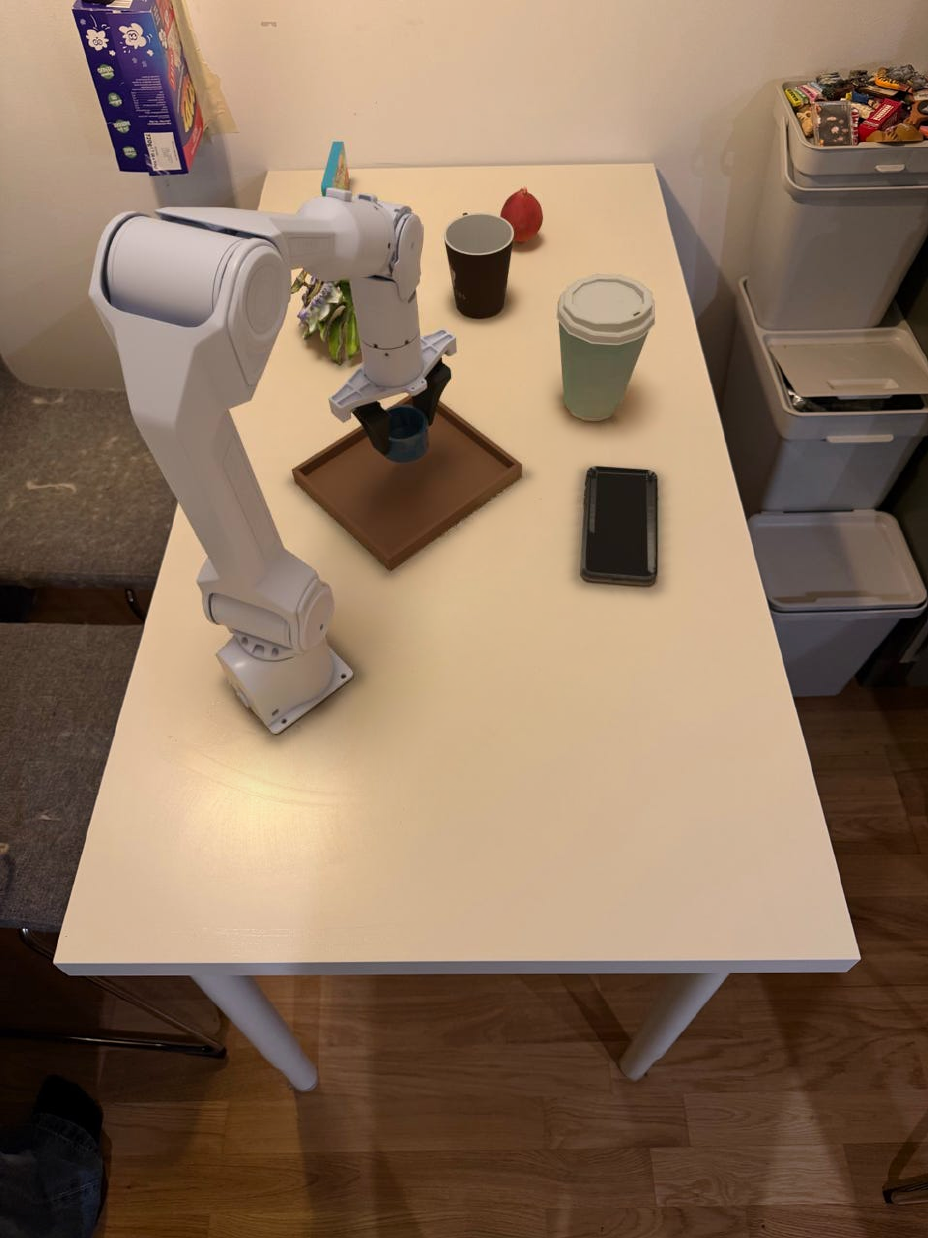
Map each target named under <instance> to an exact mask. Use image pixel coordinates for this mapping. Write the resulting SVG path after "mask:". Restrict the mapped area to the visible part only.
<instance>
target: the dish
mask: <svg viewBox="0 0 928 1238" xmlns="http://www.w3.org/2000/svg"><path fill="white" fill-rule="evenodd" d="M391 406H392V407H391ZM391 406H389V407H387V408H386V409H385V410H386V411H387V412H388V413H389V414H391V415H392V416H391V419H390V422H389V428H388V436H389V443H390V452H389V453H388V454H387V455H385V456H384V457H385V458H387V459H388V460H390V461H393V462H397V463H409V462H413V461H416V460H418V459H420V458H421V457H422V456H424V455H425V453H426V452H427V450H428V448H429V427H428V419H427V417H426V415H425V413H424V412H423V411H422V410H420V409H419V408H418V407H415V406H411V405H396V406H393V405H391Z"/></svg>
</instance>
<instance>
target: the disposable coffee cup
mask: <svg viewBox="0 0 928 1238" xmlns="http://www.w3.org/2000/svg"><path fill="white" fill-rule="evenodd" d="M555 319H556V320H557V321H558V333H559V334H558V335H559V336H558V337H559V347H560V348H559V349H560V350H559V351H560V364H561V379H562V380H561V381H562V393H563V396H562V397H563V402H564V404H565V407H566V408H567V410H568V412H570V414H571V415H572V416H574V417H576V418H578V419H580V420H582V421H588V422H589V421H590V422H600V421H602V420H607V419H609V418H610V417H611V416H612V415H613V414H614V413H615V412H616V411H617V410H618V408H619V407H620V406H621V405H622V401H623V400H624V399H623V398H624V396H625V395H626V391H627V389H628V386H629V383H630V381H631V378H632V375H633V373H634V371H635V368H636V365H637V363H638V360H639V357H640V355H641V352H642V350H643V347H644V344H645V343H646V340H647V337H648V334H649V332H650V330H651V329H652V328H653V327H654V326H655V325H656V302H655V299H654V298H653V292H652V291H651V290H650V289H649V288H648V287H647V286H646V285H645V284H644V283H642V282H641V281H640V280H638V279H635V278H632V277H629V276H627V275H626V276H625V275H622V274H619V273H618V274H616V273H615V274H612V273H595V274H592V275H589V276H586V277H582V278H579V279H576V281H574V282H572V283H571V284H570V285H569V286H568V287H567V288H566V289H565V290H563V291H562V292H561V293H560V294H559V298H558V300H557V306H556V318H555Z"/></svg>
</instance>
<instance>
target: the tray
mask: <svg viewBox="0 0 928 1238" xmlns="http://www.w3.org/2000/svg"><path fill="white" fill-rule="evenodd" d="M396 405H411V406H413V401H412V396H411V395H409V394H407V395H406V396H405V397H403V398H402V399H400V400H399V401H398V402H395V403H394V404H393V405H391V406H390V407H392V406H396ZM291 474H292V477H293V480H294V483H296V485H298V487H300V488H301V489H302V490H303V491H304V492H305V493H306V494H307V495H308V496H310V497H311V498H312V499H313V501H315V502H316V503H317V504H318V505H319V506H320V507H321V508H322V509H323V510H324V511H325V512H327V514H329V515H330V516H331V517H332V518H333V519H334V520H335V521H336V522H338V524H339V525H341V527H343V528H344V529H345V530H346V531H347V532H348V533H349V534H350V535H351V536H352V537H353V538H354V539H355V540H356V541H358V542H359V543H360V545H362V546H363V548H365V549H366V550H367V551H368V552H369V553H370V554H371V555H373V556H374V557H375V558H376V559H377V560H378V561H379V562H380V563H381V564H382V565H383V566H384V567H386V569H387V570H388V571H390V572H391V571H393V570H394V569H395V568H397V567H398V566H399V565H401V564H402V563H404V562H405V561H407V560H409V558H411V557H412V556H413V555H415V554H416V553H418V552H419V551H420V550H422V549H424V548H425V547H427V546H428V545H429V544H430V543H431V542H433V541H435V539H437V538H439V537H440V536H441V535H443V534H444V533H445V532H447V531H448V530H449V529H451V528H452V527H454V526H455V525H456V524H458V523H459V522H461V521H462V520H464V519H465V518H466V517H468V516H469V515H470V514H472V513H473V512H474V511H477V509H479V508H480V507H481V506H483V505H484V504H486V503H487V502H489V501H491V499H493V498H494V497H495V496H497V495H498V494H500V493H501V492H502V491H504V490H505V489H506V488H508V487H509V486H511V485H512V484H514V483H516V482H517V481H518V480H519V479H521V478H522V477H523V463H521V462H520V461H519V460H518V459H516V458H515V457H513V455H511V454H510V453H509V452H507V451H506V450H505V449H503V448H502V447H500V445H498V444H497V443H495V441H494V440H492V439H490V438H489V437H488V436H486V435H485V434H484V433H483V432H481V431H480V430H479V429H477V428H476V427H475V426H474V425H472V424H471V423H470V422H468V421H467V420H465V419H464V418H463V417H462V416H460V414H458V413H457V412H456V411H454V410H453V409H452V408H450V407H449V406H448V405H446V404H445V403H443V401H441V399H439V402H438V405H437V408H436V412H435V416H434V420H433V424H432V425H431V426H429V448H428V450H427V452H426V453H425V455H424V456H422V457H421V458H420V459H418V460H416V461H413V462H409V463H397V462H393V461H390V460H388V459H387V458H385V457H384V456H383V455H382V454H381V453H380V452H379V451H377V450H376V449H375V448H374V447H373V446H372V443H371V441H370V439H369V437H368V435H367V433H366V431H365V430H364V428H363V426H362V425H361V424H360V426H358V427H356V428H355V429H353V430H352V431H350V432H348V433H347V434H345V435H344V436H342V437H340V438H339V439H337V440H336V441H334V442H332V443H331V444H329V445H327V446H326V447H324V448H323V449H322V450H320V451H318V452H317V453H315V454H314V455H312V456H311V457H308V458H307V459H305V460H304V461H302V462H301V463H300V464H298V465H296V466H294V467H293V468H292V469H291Z"/></svg>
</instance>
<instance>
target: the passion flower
mask: <svg viewBox="0 0 928 1238" xmlns="http://www.w3.org/2000/svg"><path fill="white" fill-rule="evenodd" d="M307 276H308V273H307V272H305V271H304V270H303V269H302V270H301V272H300V273H299V275H298V276H296V277H295V279H294V281H293V282H292V283H293V284H292V285H291V295H293V294H295V293H298V292H300V289H302V287H306V289H305V292H304V293H303V294H302V295H301V301H302V303H303V304H302V307H301V308H300V310H299V311H298V313H297V315H296V318H298V319H299V320H300V322H299V324H298V326H299V327H300V326H302V325H303V326H305V329H304V331H303V334H302V340H305V341H306V340H309V339H310V338H311V337H312V336H313V335H314V334H315V333H317V332H318V331H319V337H320V340H321V342H322V343H324V344H325V343H326V335H327V333H328V336H327V344H328V345H327V346H328V349H329V350H328V353H329V355H330V357H331V359H332V360H333V361H334V362H337V363H338V365H341V363H342V362H341V356H342V352H343V348H344V346H345V353H346V358H347V361H349V362H350V361H352V360H353V359H354V358H355V357H356V356H357V354H358V353H359V352H361V347H360V341H359V335H358V329H357V323H356V317H355V311H354V305H353V299H352V293H351V287H350V281H349V279H345V280H336V281H322V280H318V279H316V278H314V277H312V276H311V277H310V283H308V282H307V281H306V277H307ZM341 307H344V308H343V309H342V310H341V313H340V314H338V315H336V316H335V317H334V318H333V315H334V314H335V312H336V311H337V310H338V309H339V308H341ZM332 318H333V319H332ZM331 319H332V320H331ZM344 331H345V342H344V341H343V338H344V337H343V336H344ZM343 342H344V343H343Z"/></svg>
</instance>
